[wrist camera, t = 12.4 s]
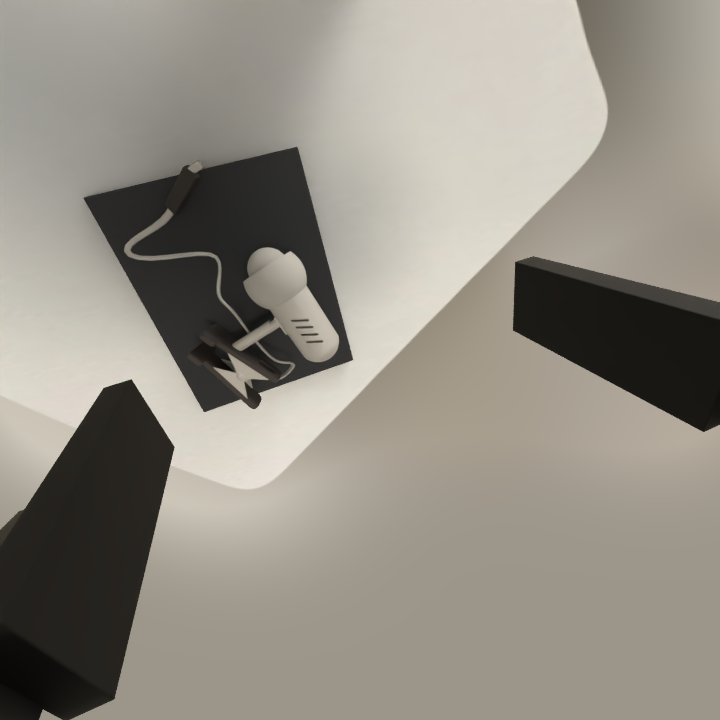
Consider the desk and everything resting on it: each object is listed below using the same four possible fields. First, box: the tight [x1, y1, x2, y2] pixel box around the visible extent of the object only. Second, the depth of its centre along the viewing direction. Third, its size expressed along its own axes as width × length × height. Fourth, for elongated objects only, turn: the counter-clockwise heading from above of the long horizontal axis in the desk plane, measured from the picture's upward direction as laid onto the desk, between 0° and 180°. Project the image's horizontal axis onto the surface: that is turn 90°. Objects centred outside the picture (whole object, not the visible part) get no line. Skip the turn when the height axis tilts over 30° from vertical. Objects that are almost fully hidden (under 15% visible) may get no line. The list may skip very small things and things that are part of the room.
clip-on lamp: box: [124, 160, 339, 409], centre depth 28 cm, size 12×6×18 cm
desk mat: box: [84, 147, 353, 412], centre depth 31 cm, size 20×16×1 cm
